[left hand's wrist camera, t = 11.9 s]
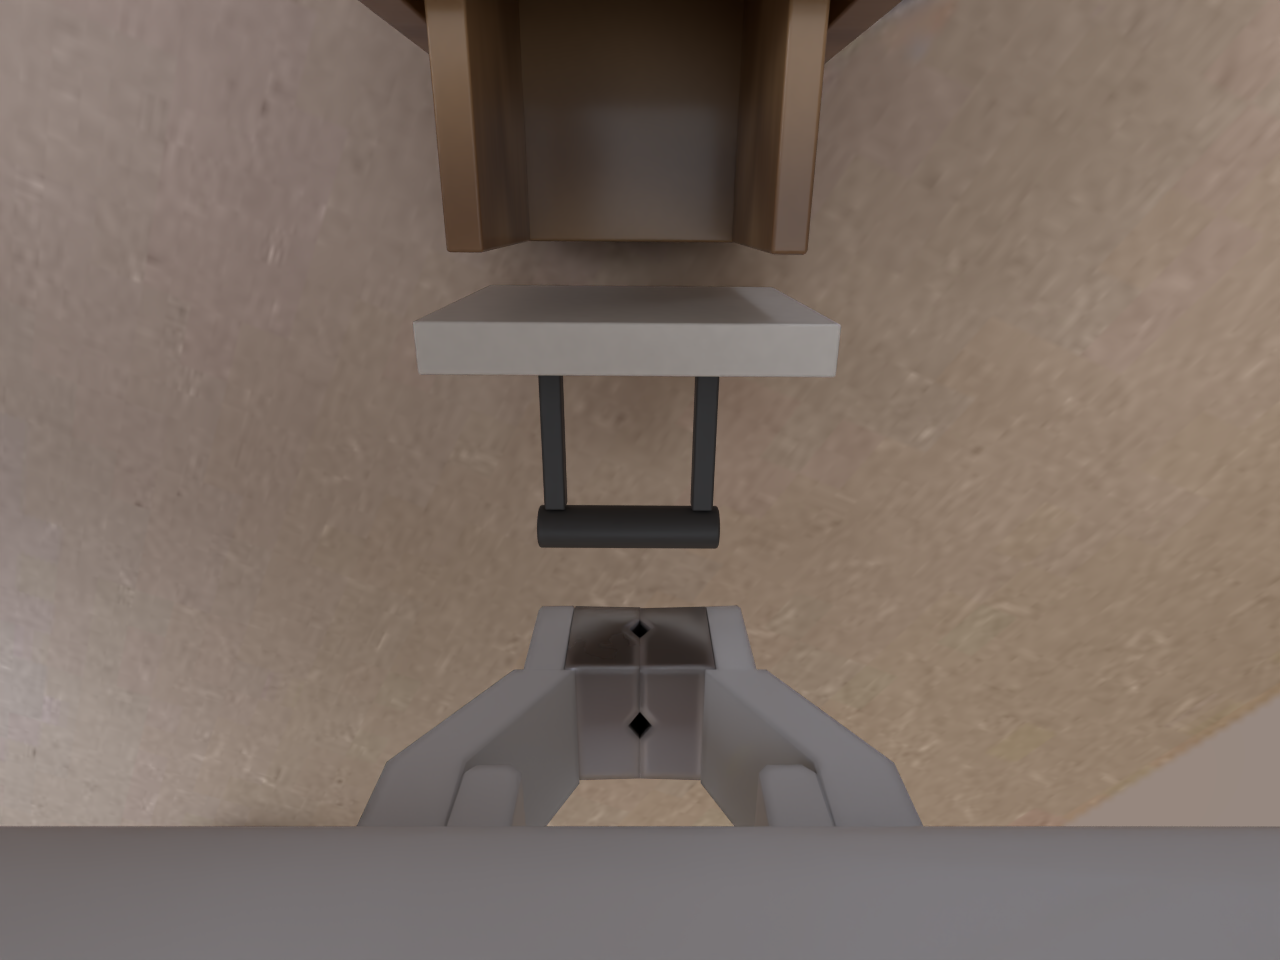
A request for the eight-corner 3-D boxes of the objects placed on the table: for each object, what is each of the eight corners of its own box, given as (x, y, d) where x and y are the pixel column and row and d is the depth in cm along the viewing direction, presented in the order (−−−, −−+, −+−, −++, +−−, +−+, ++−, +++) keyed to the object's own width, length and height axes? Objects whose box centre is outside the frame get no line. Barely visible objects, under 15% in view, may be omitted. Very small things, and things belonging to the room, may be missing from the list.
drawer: (759, 481, 25) (811, 598, 18) (502, 479, 25) (442, 595, 18) (825, -402, 17) (982, -922, 9) (439, -406, 17) (270, -931, 9)
